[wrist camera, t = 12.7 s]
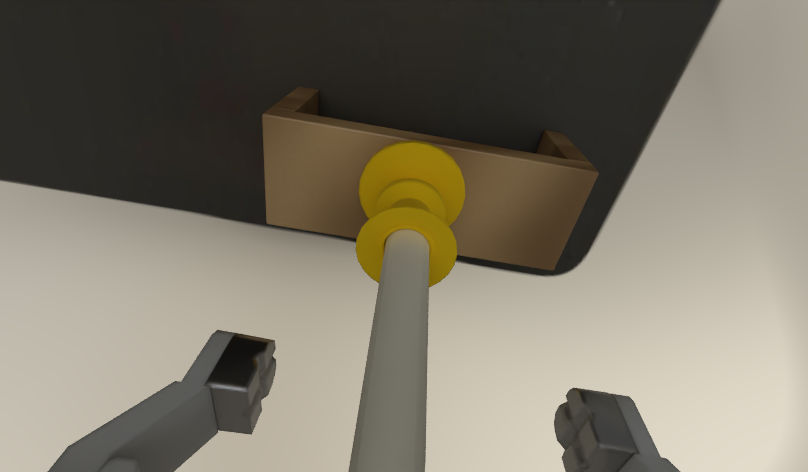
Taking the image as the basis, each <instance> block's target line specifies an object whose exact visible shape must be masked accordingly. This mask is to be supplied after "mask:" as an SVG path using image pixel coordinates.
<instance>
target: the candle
mask: <svg viewBox="0 0 808 472" xmlns="http://www.w3.org/2000/svg"><path fill="white" fill-rule="evenodd" d="M359 197H360V202H361V206H362V208H363V210H364V212H365V214H366V216H367V217H368V218H369V220H368V221H367V222H366V223H365V224H364V225H363V226H362V228H361V230H360V232H359V235H358V237H357V242H356V253H357V258H358V261H359V263H360V265H361V266H362V268H363V270H364V271H365V272H366V273H367V274H368V275H369V276H370V277H371V278H372V279H373V280H375V281H377V282H378V283H379V289H378V295H377V301H376V307H375V313H374V319H373V325H372V331H371V337H370V344H369V350H368V356H367V362H366V368H365V374H364V381H363V387H362V393H361V400H360V405H359V411H358V418H357V423H356V430H355V436H354V442H353V448H352V454H351V460H350V466H349V472H425V450H426V398H427V397H426V395H427V346H428V345H427V344H428V294H429V293H428V292H429V287H431V286H433V285H434V284H437V283H438V282H440V281H441V280H442V279H443V278H445V277H446V276H447V275H448V274H449V272H450V271H451V269H452V268H453V266H454V264H455V260H456V257H457V242H456V240H455V237H454V234H453V232H452V230H451V229H450V228H449V226H450V225H451V224H452V223H453V222H454V221H455V220H456V218H457V217H458V215H459V213H460V212H461V210H462V207H463V204H464V200H465V182H464V178H463V176H462V173H461V170H460V168H459V166H458V165H457V163H456V162H455V160H454V159H453V158H452V157H451V156H450V155H449V154H448V153H446V152H445V151H444V150H443V149H442V148H439V147H437V146H435V145H433V144H430V143H428V142H422V141H416V140H409V141H399V142H396V143H393V144H390V145H388V146H385V147H384V148H382V149H381V150H380V151H378V152H377V153H375V154H374V155H373V156H372V158H371V159H370V160H369V161H368V163H367V164H366V166H365V168H364V171H363V173H362V175H361V178H360V183H359Z"/></svg>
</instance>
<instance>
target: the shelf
mask: <svg viewBox="0 0 808 472" xmlns="http://www.w3.org/2000/svg"><path fill="white" fill-rule="evenodd" d="M318 104H319V90H317V89H312V88H306V87H298V88H296V89H295V90H294V91H292V92H291V93H290V94H288V95H287V96H286V97H284V98H283V99H282V100H280V101H279V102H277V103H276V104H275V105H273V106H272V107H271V108H270V109H268V110H267V111H266V112H264V113H263V114H262V123H263V147H264V171H265V194H266V218H267V224H271V225H277V226H284V227H290V228H296V229H302V230H308V231H314V232H320V233H326V234H332V235H338V236H345V237H351V238H357V237H358V235H359V232H360V230H361V228H362V226H363V225H364V224H365V223H366V222H367V221H368V220H369V218H368V217H367V216H366V214H365V212H364V210H363V208H362V206H361V202H360V197H359V183H360V178H361V175H362V173H363V171H364V168H365V166H366V164H367V163H368V161H369V160H370V159H371V158H372V156H373V155H374V154H375V153H377V152H378V151H380V150H381V149H382V148H384V147H385V146H388V145H390V144H393V143H396V142H399V141H409V140H416V141H422V142H428V143H430V144H433V145H435V146H437V147H439V148H442V149H443V150H444V151H445V152H446V153H448V154H449V155H450V156H451V157H452V158H453V159H454V160H455V162H456V163H457V165H458V166H459V168H460V170H461V173H462V176H463V178H464V182H465V200H464V204H463V207H462V210H461V212H460V213H459V215H458V217H457V218H456V220H455V221H454V222H453V223H452V224H451V225H450V226H449V228H450V229H451V230H452V232H453V234H454V237H455V240H456V242H457V255H460V256H467V257H473V258H479V259H485V260H491V261H497V262H503V263H509V264H515V265H521V266H528V267H534V268H540V269H546V270H552V271H553V270H554V269H555V266H556V264H557V262H558V260H559V258H560V256H561V254H562V251H563V249H564V247H565V245H566V243H567V241H568V239H569V236H570V234H571V232H572V230H573V228H574V226H575V224H576V221H577V219H578V217H579V215H580V213H581V211H582V209H583V206H584V204H585V202H586V200H587V198H588V196H589V194H590V192H591V189H592V187H593V185H594V183H595V181H596V179H597V177H598V174H599V172H598V171H597V170H596V169H595V168H594V166H593V165H592V164H591V163H590V162H589V161H588V160H587V159H586V158H585V157H584V155H583V154H582V153H581V152H580V151H579V150H578V149H577V148H576V147H575V146H574V145H573V143H572V142H571V141H570V140H569V139H568V138H567V137H566V136H565V135H564V134H563V133H560V132H554V131H548V130H544V133H543V135H542V138H541V141H540V144H539V146H538V149H537V152H536V154H534V153H528V152H523V151H517V150H511V149H505V148H500V147H494V146H488V145H483V144H477V143H471V142H465V141H460V140H454V139H448V138H442V137H437V136H431V135H425V134H420V133H414V132H408V131H402V130H397V129H391V128H385V127H379V126H374V125H368V124H362V123H357V122H351V121H345V120H339V119H334V118H328V117H322V116H318Z"/></svg>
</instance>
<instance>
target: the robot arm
mask: <svg viewBox="0 0 808 472" xmlns="http://www.w3.org/2000/svg"><path fill="white" fill-rule="evenodd" d="M274 351H275V341H274V340H270V339H264V338H259V337H254V336H249V335H244V334H238V333H232V332H227V331H221V330H217V331H216V332H215V333H213V334H212V335H211V337H210V339H209V340H208V342H207V343H206V345H205V346H204V348H203V349H202V351H201V352H200V354H199V355H198V357H197V358H196V360H195V362H194V363H193V365H192V366H191V368H190V369H189V371H188V372H187V374H186V375H185V377H184V378H183V380H182V382H177V381H175V382H173V383H171V384H170V385H168V386H167V387H165V388H163V389H162V390H160V391H158V392H157V393H155V394H153V395H152V396H150V397H149V398H147V399H145V400H144V401H142V402H140V403H139V404H137V405H136V406H134V407H132V408H131V409H129V410H128V411H126V412H124V413H122V414H121V415H119V416H117V417H116V418H114V419H113V420H111V421H109V422H108V423H106V424H104V425H103V426H101V427H100V428H98V429H96V430H94V431H93V432H91V433H90V434H88V435H86V436H85V437H83V438H81V439H80V440H78V441H77V442H75V443H73V444H72V445H70V446H68V447H67V449H66V450H65V451H64V452H63V453H62V455H61V456H60V457H59V458H58V460H57V461H56V462H55V463H54V465H53V466H52V467H51V468H50V470H49V471H48V472H174V471H175V470H176V469H177V468H178V467H179V466H181V465H182V464H183V463H184V462H185V461H186V460H187V459H189V458H190V457H191V456H192V455H193V454H194V453H195V452H197V451H198V450H199V449H200V448H201V447H202V446H203V445H204V444H205V443H207V442H208V441H209V440H210V439H211V438H212V437H213V436H215V435H216V434H217V433H218V430H220V431H229V432H236V433H244V434H252V432H253V430H254V428H255V425H256V423H257V420H258V418H259V416H260V413H261V411H262V406H261V400H262V399H263V398H264V397H266V396H267V395H268V394H269V391H270V389H271V386H272V383H273V380H274V376H275V371H276V359H275V358H273V353H274ZM566 398H567V402H566V403H563V404H561V405H560V406H559V407H558V409H557V411H556V414H555V420H554V427H555V433H556V437H557V441H558V442H559V443H560V444H561V445H562V447H563V448H564V449H565V451H564V453H563V456H562V460H563V464H564V467H565V471H566V472H680V471H679V470H678V469H677V468H676V467H675V466H674V465H673V464H671V462H670V461H669V460H667V459H666V458H661V457H660V455H659V453H658V451H657V448H656V447H655V444H654V442H653V440H652V438H651V436H650V434H649V432H648V430H647V428H646V426H645V424H644V422H643V420H642V418H641V416H640V413H639V412H638V409H637V407H636V405H635V403H634V401H633V400H632V399H631V398H630V397H628V396H622V395H616V394H609V393H606V392H599V391H592V390H585V389H578V388H572V389H570V390H569V391H568V393H567V395H566Z"/></svg>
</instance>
